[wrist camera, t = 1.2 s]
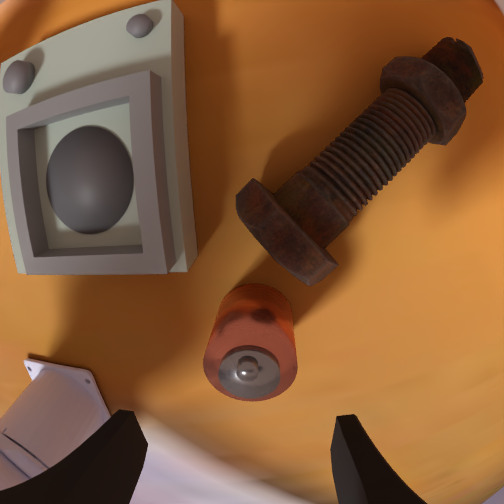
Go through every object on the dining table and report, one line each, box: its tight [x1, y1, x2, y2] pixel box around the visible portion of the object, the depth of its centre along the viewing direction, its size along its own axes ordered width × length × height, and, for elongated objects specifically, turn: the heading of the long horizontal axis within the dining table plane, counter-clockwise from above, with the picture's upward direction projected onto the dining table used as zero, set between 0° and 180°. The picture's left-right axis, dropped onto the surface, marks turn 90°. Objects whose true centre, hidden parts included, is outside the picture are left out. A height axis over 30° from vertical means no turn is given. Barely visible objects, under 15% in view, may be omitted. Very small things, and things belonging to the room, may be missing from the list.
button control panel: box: [0, 0, 198, 275], centre depth 14 cm, size 14×12×4 cm
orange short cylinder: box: [203, 284, 297, 401], centre depth 16 cm, size 4×4×6 cm
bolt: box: [236, 37, 483, 286], centre depth 13 cm, size 6×5×15 cm
